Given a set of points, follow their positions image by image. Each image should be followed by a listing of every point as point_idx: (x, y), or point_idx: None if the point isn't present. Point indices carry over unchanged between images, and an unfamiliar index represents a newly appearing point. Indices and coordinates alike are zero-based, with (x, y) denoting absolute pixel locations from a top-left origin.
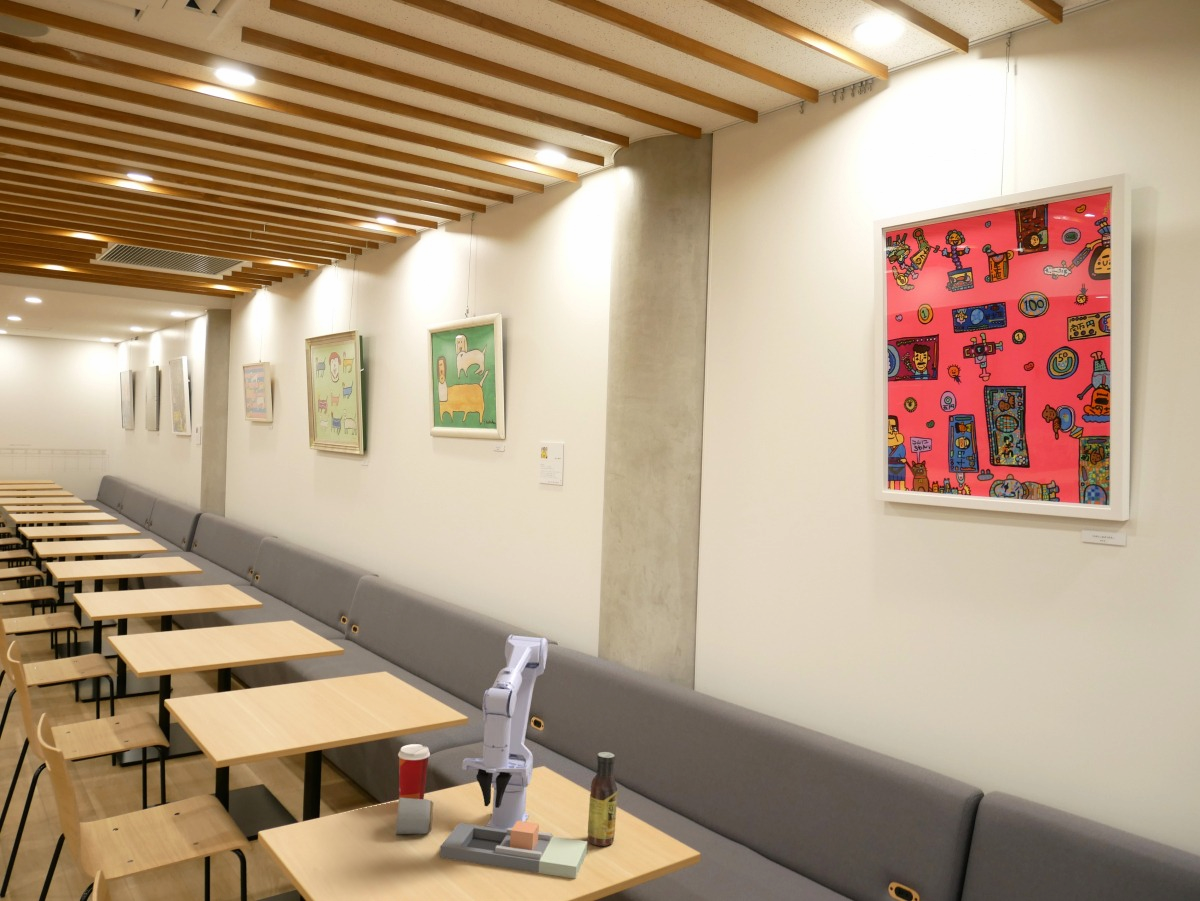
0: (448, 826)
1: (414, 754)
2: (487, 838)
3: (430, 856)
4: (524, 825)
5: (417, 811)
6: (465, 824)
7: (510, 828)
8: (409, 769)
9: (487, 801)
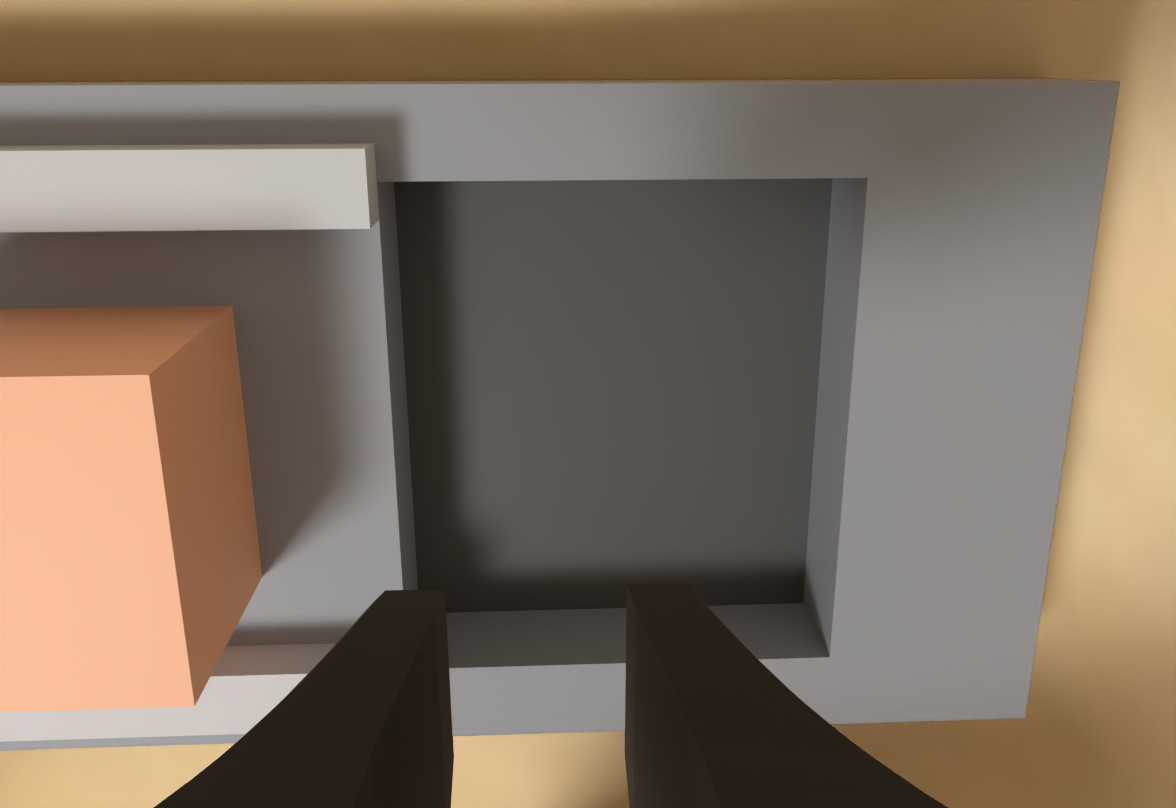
0: (1109, 753)
1: None
2: None
3: (1158, 79)
4: (17, 595)
5: None
6: (945, 703)
7: None
8: None
9: (640, 633)
